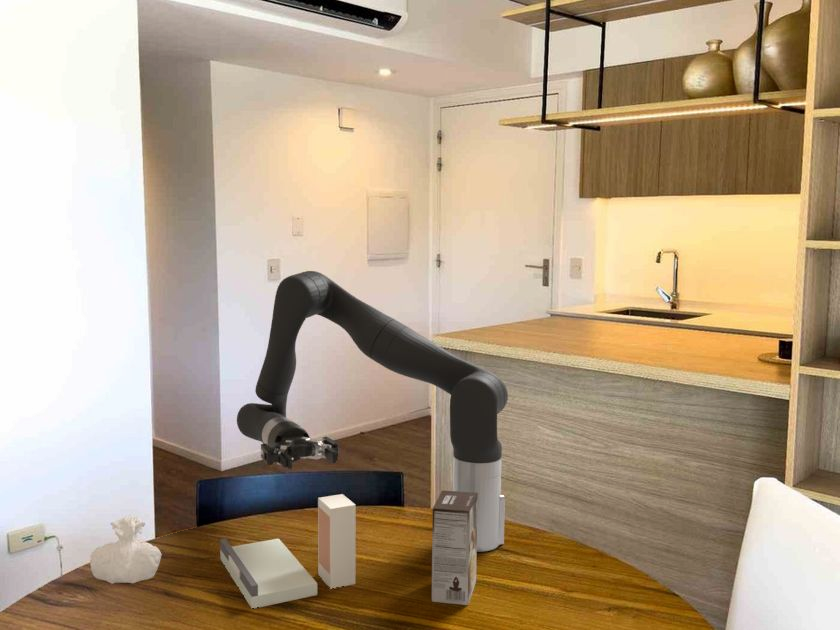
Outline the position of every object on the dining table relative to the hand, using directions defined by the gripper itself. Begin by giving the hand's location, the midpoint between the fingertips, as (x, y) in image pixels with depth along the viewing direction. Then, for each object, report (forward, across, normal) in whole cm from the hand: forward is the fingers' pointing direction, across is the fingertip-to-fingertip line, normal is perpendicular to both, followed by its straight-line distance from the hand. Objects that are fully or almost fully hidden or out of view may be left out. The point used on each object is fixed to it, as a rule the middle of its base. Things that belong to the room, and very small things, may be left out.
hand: (312, 461), depth 145 cm
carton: (+12, 0, +18) cm, 21 cm away
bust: (-5, -32, +18) cm, 37 cm away
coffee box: (+25, +16, +18) cm, 35 cm away
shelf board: (+5, -10, +18) cm, 21 cm away
